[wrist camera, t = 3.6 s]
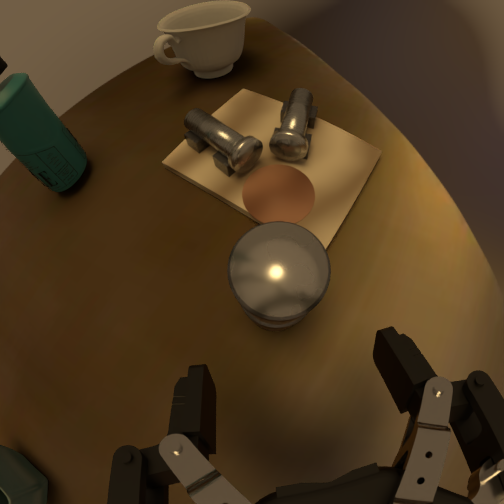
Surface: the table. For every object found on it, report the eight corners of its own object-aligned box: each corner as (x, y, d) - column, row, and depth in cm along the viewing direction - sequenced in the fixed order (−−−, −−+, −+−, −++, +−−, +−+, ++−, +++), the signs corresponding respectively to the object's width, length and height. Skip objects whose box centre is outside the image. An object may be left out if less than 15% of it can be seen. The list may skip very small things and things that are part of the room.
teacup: (144, 95, 32) (121, 41, 23) (207, 47, 36) (197, -1, 27) (208, 112, 30) (191, 43, 20) (270, 59, 34) (268, 3, 24)
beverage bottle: (98, 150, 29) (20, 31, 10) (89, 193, 27) (-16, 68, 8) (61, 165, 29) (-20, 65, 10) (50, 207, 27) (-52, 107, 8)
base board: (163, 169, 27) (160, 163, 26) (244, 94, 30) (243, 88, 29) (317, 262, 23) (319, 258, 22) (379, 157, 26) (382, 150, 25)
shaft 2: (305, 167, 25) (310, 139, 21) (268, 159, 25) (267, 131, 22) (316, 114, 27) (320, 88, 24) (284, 108, 28) (285, 81, 24)
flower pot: (14, 433, 17) (-38, 437, 9) (61, 478, 16) (9, 498, 7) (13, 475, 14) (-30, 484, 6) (58, 517, 13) (16, 538, 4)
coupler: (233, 311, 22) (206, 280, 12) (267, 264, 23) (265, 202, 13) (282, 344, 20) (294, 341, 11) (315, 295, 22) (349, 253, 12)
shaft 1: (264, 160, 25) (263, 132, 22) (236, 183, 25) (231, 156, 21) (211, 124, 28) (204, 97, 24) (185, 142, 27) (175, 116, 23)
